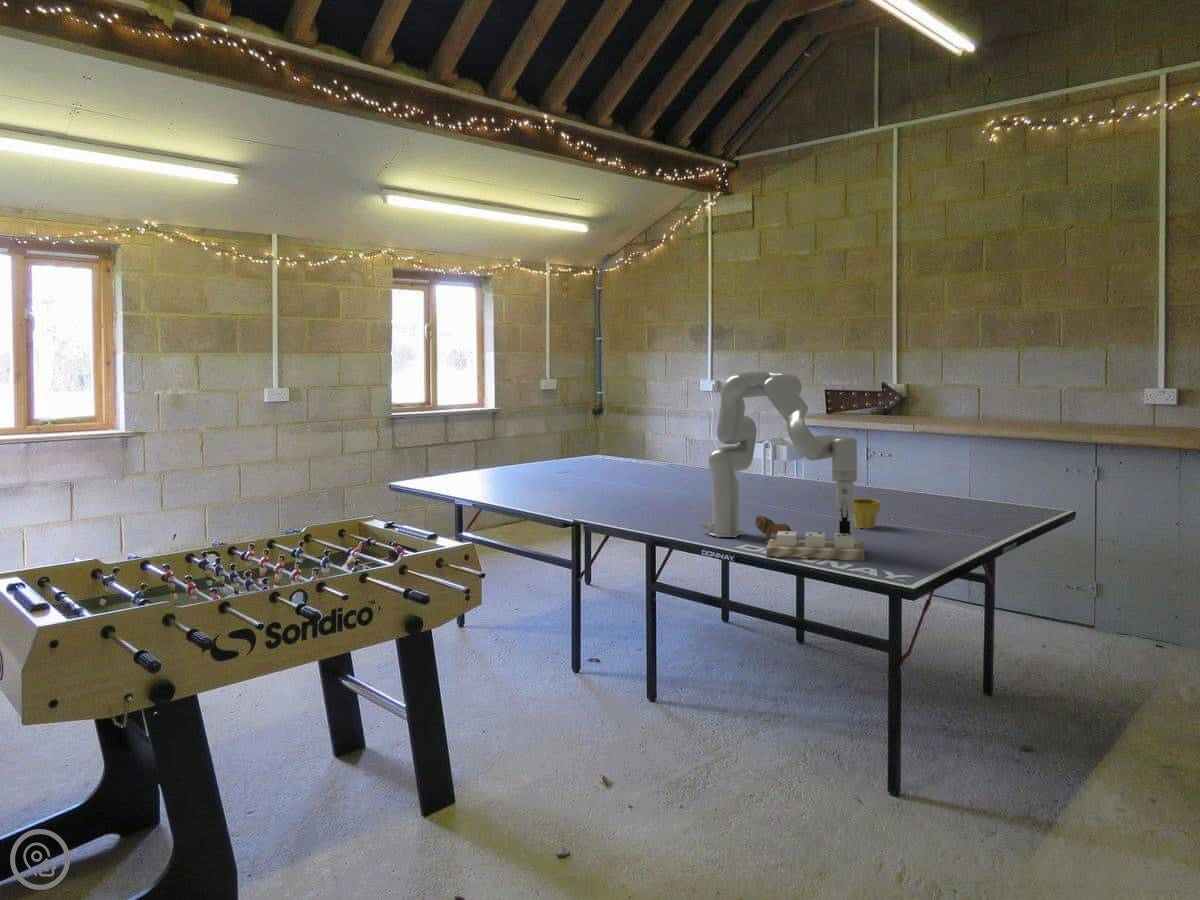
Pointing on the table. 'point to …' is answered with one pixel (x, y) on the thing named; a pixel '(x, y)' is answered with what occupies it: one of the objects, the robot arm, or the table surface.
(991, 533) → the table surface
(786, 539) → the tile one
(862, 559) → the board
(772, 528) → the lion figurine
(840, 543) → the tile three
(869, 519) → the plant pot
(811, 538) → the tile two
